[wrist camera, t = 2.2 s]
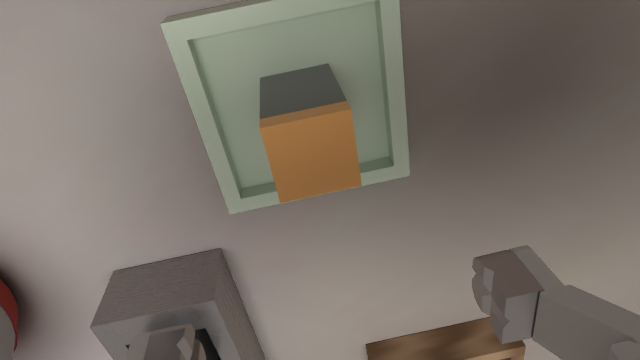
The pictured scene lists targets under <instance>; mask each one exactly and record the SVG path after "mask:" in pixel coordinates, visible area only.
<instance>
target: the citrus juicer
mask: <svg viewBox="0 0 640 360" xmlns="http://www.w3.org/2000/svg"><path fill="white" fill-rule="evenodd" d="M18 314H19V311H18V307H17V303H16V300H15V298H14V296H13V294H12V293H11V291H10V289H9V288H8V287H7V286H6V284H5V283H4V282H3V281H2V280H1V279H0V360H12V357H13V353H14V351H15V349H16V346H17V334H18Z"/></svg>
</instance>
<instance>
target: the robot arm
mask: <svg viewBox="0 0 640 360" xmlns="http://www.w3.org/2000/svg"><path fill="white" fill-rule="evenodd" d="M472 268H473V269H474V271H475V272H476V274H475V276H474V277H473V278H472V289H473V293H474V297H475V299H476V302H477V304H478V306H479V307H480V309H481V311H482V312H484V313H486V314H488V315H489V316H490V326H491V327H492V329H493V331H494V332H495V334H496V336H497V337H498V339H499V340H500V342H501V344H504V343H509V342H514V341H519V340H524V339H529V338H532V340H534V341H535V342H537V343H538V344H540V345H541V346H543V347H544V348H546V349H547V350H549V351H550V352H552V353H553V354H555V355H556V356H558V357H559V358H560V359H562V360H640V315H637V314H635V313H633V312H631V311H628V310H626V309H624V308H622V307H619V306H617V305H615V304H612V303H610V302H608V301H606V300H603V299H601V298H599V297H597V296H594V295H592V294H590V293H587V292H585V291H583V290H581V289H578V288H576V287H574V286H572V285H567V286H564V285H563V283H562V282H561V281H560V280H559V279H558V278H557V277H556V276H555V275H554V273H553V272H552V271H551V270H550V269H549V268H548V267H547V266H546V264H545V263H544V262H543V261H542V260H541V259H540V258H539V257H538V256H537V254H536V253H535V252H534V251H533V250H532V249H531V248H530V247H529V246H527V245H525V246H521V247H517V248H512V249H509V250H503V251H499V252H495V253H491V254H487V255H483V256H479V257H475V258H474V260H473V266H472ZM194 337H195V330H194V328H193V327H192V325H191V324H185V325H180V326H175V327H170V328H165V329H160V330H155V331H152V332H147V333H142V334H137V335H135V336H134V337H133V339H132V340H131V342H130V346H129V349H128V352H127V355H126V359H125V360H206V355H205V351H204V348H203V346H202V344H201V342H200V341H198V340H196V339H194Z"/></svg>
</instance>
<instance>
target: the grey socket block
mask: <svg viewBox="0 0 640 360" xmlns="http://www.w3.org/2000/svg"><path fill="white" fill-rule="evenodd" d="M185 324H191V325H192V327H193V328H194V330H198V329H203V328H206V330H207V332H208V334H209V336H210V338H211V340H212V342H213V344H214V346H215V348H216V350H217V352H218V360H265V357H264V355H263V352H262V350H261V347H260V345H259V342H258V340H257V337H256V335H255V332H254V330H253V328H252V325H251V323H250V320H249V318H248V315H247V313H246V310H245V308H244V305H243V303H242V300H241V298H240V295H239V293H238V290H237V288H236V286H235V283H234V281H233V278H232V276H231V273H230V271H229V268H228V266H227V263H226V261H225V258H224V256H223V253H222V251H221V249H215V250H211V251H206V252H201V253H197V254H192V255H187V256H183V257H178V258H173V259H169V260H164V261H159V262H155V263H150V264H146V265H141V266H136V267H132V268H127V269H122V270H118V271H114V272H113V274H112V276H111V279H110V281H109V283H108V286H107V288H106V290H105V293H104V295H103V297H102V300H101V302H100V304H99V307H98V309H97V312H96V314H95V316H94V319H93V321H92V323H91V326H90V329H91V330H92V331H93V333H94V334H95V335H96V337H97V338H98V339H99V341H100V342H101V343H102V345H103V346H104V347H105V349H106V350H107V352H108V353H109V354H110V356H111V357H112V358H113V360H125V359H126V355H127V352H128V349H129V346H130V342H131V340H132V339H133V337H134V336H135V335H137V334H142V333H147V332H152V331H155V330H160V329H165V328H170V327H175V326H180V325H185Z"/></svg>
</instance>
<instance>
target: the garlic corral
mask: <svg viewBox="0 0 640 360" xmlns="http://www.w3.org/2000/svg"><path fill="white" fill-rule="evenodd" d="M525 347H526V346H525V344H524V343H523V341H522V340H519V341H514V342H509V343H504V344H501V342H500V340H499V339H498V337H497V336H496V334H495V332H494V331H493V329H492V327H491V326H490V317H489V318H484V319H480V320H475V321H471V322H466V323H461V324H457V325H452V326H448V327H443V328H439V329H434V330H430V331H425V332H420V333H416V334H411V335H407V336H402V337H398V338H393V339H389V340H384V341H379V342H375V343H370V344H366V349H367V355H368V360H524V353H525Z"/></svg>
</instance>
